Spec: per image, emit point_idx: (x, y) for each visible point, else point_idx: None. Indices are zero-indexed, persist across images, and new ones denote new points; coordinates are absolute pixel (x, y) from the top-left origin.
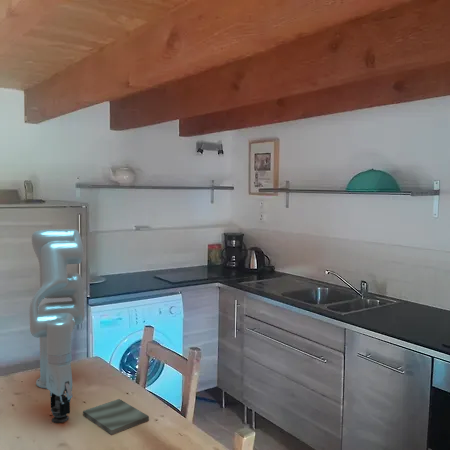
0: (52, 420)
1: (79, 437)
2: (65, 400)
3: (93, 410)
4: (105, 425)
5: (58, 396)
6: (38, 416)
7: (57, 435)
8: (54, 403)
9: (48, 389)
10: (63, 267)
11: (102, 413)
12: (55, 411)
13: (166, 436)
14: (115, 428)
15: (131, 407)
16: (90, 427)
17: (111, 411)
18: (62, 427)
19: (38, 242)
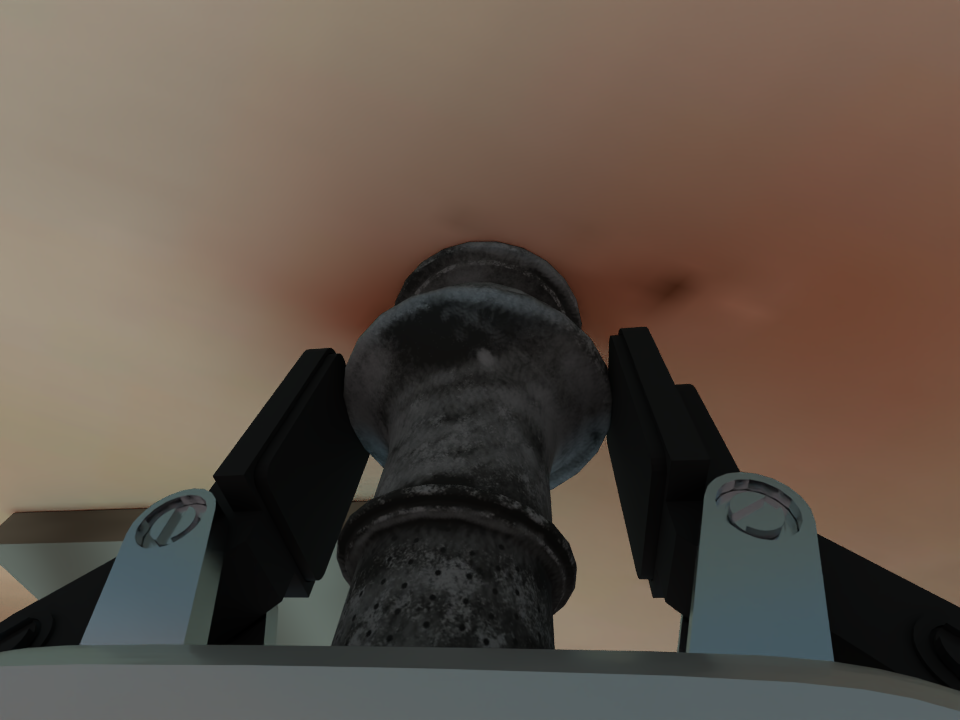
0: (492, 247)
1: (3, 336)
2: (23, 613)
3: None
4: (73, 547)
5: (359, 593)
6: (778, 133)
7: (89, 166)
8: (622, 411)
9: (712, 696)
10: None
11: (304, 599)
12: (405, 332)
13: None
14: (9, 569)
15: None
16: (186, 462)
17: (309, 638)
18: (280, 283)
19: None
